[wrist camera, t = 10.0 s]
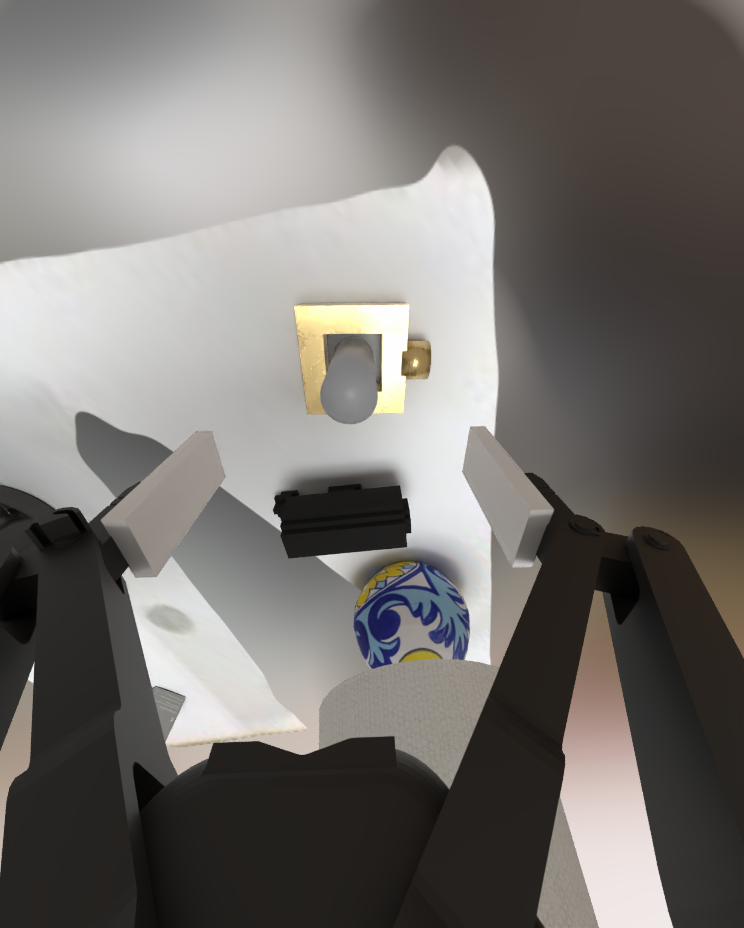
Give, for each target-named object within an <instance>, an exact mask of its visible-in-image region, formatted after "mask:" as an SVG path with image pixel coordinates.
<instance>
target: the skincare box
mask: <svg viewBox="0 0 744 928" xmlns="http://www.w3.org/2000/svg"><path fill="white" fill-rule="evenodd" d="M152 691H153V695H154V699H155V703H156V707H157V711H158V715H159V719H160V723H161V727H162V731H163V735H164V740H165V741H166V739H167V737H168V735H169V733H170V731H171V728H172V726H173V724H174V722H175V720H176V718H177V716H178V714H179V711H180V709H181V707H182V705H183V703H184V701H185V697H184V696H181V695H178V694H175V693H173V692H170V691H167V690H164V689H161V688H159V687H154V688H153V689H152Z"/></svg>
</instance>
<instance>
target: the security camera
mask: <svg viewBox="0 0 744 928" xmlns="http://www.w3.org/2000/svg"><path fill="white" fill-rule="evenodd" d="M274 500H275V506H274V509H273V512H274V514H278V517H280V518H281V521H282V523H281V526H280V527H281V530H282V532H281V538H282V541H283V544H284V547H285V550H286V552H287V555H288V558H297V557H307V556H319V555H329V554H340V553H350V552H361V551H371V550H382V549H392V548H403V547H407V540H406V533H411V518H410V510H409V505H408V500H407V498H404V499H402V495H401V489H400V486H390V487H381V488H371V489H361V485H360V484H354V485H344V486H334V487H329V489H328V493H321V494H312V495H302V496H299V494H298V490H295V491H285V492H282V493H281V495H276V496H275V498H274Z"/></svg>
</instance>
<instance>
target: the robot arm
mask: <svg viewBox="0 0 744 928" xmlns="http://www.w3.org/2000/svg"><path fill="white" fill-rule="evenodd" d="M462 472H463V474H464V476H465V478H466V480H467V482H468V484H469V486H470V488H471V490H472V491H473V493H474V495H475V497H476V499H477V501H478V503H479V505H480V507H481V509H482V511H483V513H484V515H485V517H486V518H487V520H488V522H489V524H490V526H491V528H492V530H493V532H494V534H495V536H496V538H497V540H498V542H499V544H500V545H501V547H502V549H503V551H504V553H505V555H506V557H507V559H508V561H509V563H510V565H511V567H532V566H533V563H534V561H535V558H536V555H537V557H538V558H539V560H540V561H541V563H542V566H541V568H540V571H539V573H538V575H537V578H536V580H535V583H534V585H533V588H532V590H531V593H530V595H529V597H528V600H527V602H526V605H525V607H524V609H523V612H522V614H521V617H520V619H519V622H518V624H517V627H516V629H515V631H514V634H513V636H512V639H511V641H510V644H509V646H508V648H507V651H506V653H505V656H504V658H503V661H502V663H501V666H500V668H499V670H498V673H497V675H496V678H495V680H494V683H493V685H492V687H491V690H490V692H489V695H488V697H487V700H486V702H485V704H484V707H483V709H482V712H481V714H480V717H479V719H478V721H477V724H476V726H475V729H474V731H473V734H472V736H471V738H470V741H469V743H468V746H467V748H466V751H465V753H464V756H463V758H462V760H461V763H460V765H459V768H458V770H457V773H456V775H455V777H454V780H453V782H452V785H451V787H450V789H449V788H448V787H447V785H446V784H445V783H444V782H443V781H442V780H441V779H440V777H439V776H438V775H437V774H436V773H435V772H434V771H433V770H432V769H430V768H429V767H428V766H427V765H426V764H425V763H423V762H422V761H420V760H419V759H417V758H416V757H414V756H412V755H410V754H408V753H406V752H404V751H401V750H398V749H395V736H384V737H357V738H349V739H346V740H343V741H341V742H338V743H335V744H333V745H330V746H327V747H325V748H322V749H319V750H317V751H314V752H312V753H309V754H306V755H299V754H295V753H292V752H289V751H286V750H283V749H280V748H277V747H274V746H271V745H268V744H265V743H262V742H259V741H253V742H227V743H213V746H212V749H211V753H210V756H209V759H206V760H204V761H202V762H200V763H198V764H196V765H194V766H192V767H190V768H189V769H187V770H186V771H184V772H183V773H181V774H180V775H177V773H176V771H175V768H174V767H173V764H172V762H171V760H170V758H169V755H168V752H167V748H166V744H165V740H164V735H163V731H162V727H161V723H160V719H159V715H158V711H157V707H156V703H155V699H154V695H153V691H152V687H151V683H150V679H149V675H148V671H147V667H146V663H145V659H144V654H143V650H142V646H141V642H140V638H139V634H138V630H137V626H136V622H135V618H134V614H133V610H132V606H131V602H130V598H129V594H128V590H127V586H126V582H125V580H124V579H123V577H122V574H123V573H124V571H125V570H126V569H127V568H128V566H129V568H130V570H131V571H132V573H133V575H134V576H135V578H137V577H157V576H158V574H159V573H160V571H161V570H162V568H163V567H164V565H165V564H166V563H167V561H168V560H169V558H170V557H171V555H172V554H173V552H174V551H175V549H176V548H177V547H178V545H179V544H180V542H181V541H182V539H183V538H184V536H185V535H186V533H187V532H188V531H189V529H190V528H191V526H192V525H193V523H194V522H195V520H196V519H197V517H198V516H199V514H200V513H201V512H202V510H203V509H204V507H205V506H206V504H207V503H208V501H209V500H210V498H211V497H212V496H213V494H214V493H215V491H216V490H217V488H218V487H219V486H220V484H221V483H222V481H223V480H224V478H225V473H224V470H223V467H222V464H221V460H220V457H219V454H218V450H217V447H216V444H215V440H214V437H213V434H212V431H196V432H195V433H194V434H193V435H192V436H191V437H190V438H189V439H188V440H186V441H185V442H184V443H183V444H182V445H181V446H180V447H179V448H178V449H177V450H176V451H175V452H173V453H172V454H171V455H170V456H169V457H168V458H167V459H166V460H165V461H164V462H163V463H162V464H161V465H159V466H158V467H157V468H156V469H155V470H154V471H153V472H152V473H151V474H150V475H149V476H148V477H146V478H145V479H144V480H143V481H142V482H138V483H137V484H135V485H133V486H131V487H129V488H128V489H126V490H125V491H124V492H123V493H122V494H121V495H120V496H119V497H118V499H115V500H114V501H113V502H112V503H111V504H110V506H107V507H106V508H105V509H104V510H103V511H102V512H101V513H99V514H98V515H97V516H96V517H95V518H94V519H93V520H92V521H90V522H89V523H88V522H87V521H86V519H85V518H84V516H83V514H82V513H81V511H80V510H79V509H78V508H74V507H67V508H61V509H57V510H53V509H52V508H51V507H49V506H48V505H46V504H45V503H43V502H42V501H40V500H38V499H36V498H34V497H32V496H30V495H28V494H26V493H23V492H21V491H18V490H15V489H12V488H8V487H3V486H0V750H1V748H2V745H3V742H4V739H5V737H6V734H7V732H8V729H9V727H10V724H11V721H12V719H13V716H14V713H15V711H16V708H17V706H18V703H19V700H20V698H21V695H22V692H23V690H24V687H25V685H26V682H27V680H28V677H29V674H30V672H31V669H32V667H33V664H34V688H33V710H32V732H31V756H30V764H29V768H28V769H27V771H25V772H24V773H22V774H21V775H19V776H17V777H16V778H15V779H14V781H13V782H12V784H11V786H10V788H9V792H8V797H7V802H6V814H5V825H4V838H3V849H2V861H1V872H0V928H545V927H544V925H543V924H542V922H541V921H540V919H539V918H538V917H537V911H538V905H539V900H540V895H541V890H542V885H543V880H544V874H545V869H546V864H547V859H548V854H549V849H550V843H551V838H552V833H553V828H554V823H555V818H556V812H557V807H558V802H559V797H560V791H561V787H562V781H563V775H564V768H565V755H564V753H563V751H562V743H563V737H564V732H565V728H566V723H567V718H568V713H569V708H570V704H571V699H572V694H573V689H574V685H575V680H576V675H577V670H578V666H579V660H580V656H581V651H582V646H583V642H584V637H585V632H586V628H587V622H588V618H589V613H590V608H591V604H592V599H593V594H594V590H598V591H602V592H603V597H604V602H605V607H606V612H607V617H608V622H609V627H610V632H611V637H612V642H613V647H614V652H615V657H616V662H617V666H618V672H619V677H620V682H621V687H622V691H623V697H624V701H625V706H626V711H627V716H628V721H629V726H630V731H631V736H632V741H633V746H634V751H635V756H636V761H637V766H638V771H639V776H640V780H641V786H642V791H643V796H644V800H645V806H646V811H647V816H648V821H649V826H650V830H651V835H652V841H653V846H654V851H655V855H656V861H657V866H658V870H659V874H660V879H661V883H662V887H663V891H664V895H665V899H666V903H667V907H668V912H669V915H670V918H671V921H672V925H673V928H744V658H743V656H742V654H741V652H740V651H739V649H738V647H737V645H736V643H735V641H734V639H733V638H732V636H731V634H730V632H729V630H728V628H727V626H726V624H725V623H724V621H723V619H722V617H721V615H720V613H719V611H718V610H717V608H716V606H715V604H714V602H713V600H712V598H711V597H710V595H709V593H708V591H707V589H706V587H705V585H704V584H703V582H702V580H701V578H700V576H699V574H698V573H697V570H696V569H695V567H694V565H693V563H692V561H691V559H690V558H689V555H688V554H687V552H686V550H685V548H684V547H683V545H682V544H681V543H680V542H679V541H678V540H677V539H675V538H674V537H672V536H671V535H669V534H668V533H665V532H664V531H661V530H658V529H654V528H650V527H643V526H642V527H636V528H634V529H633V530H632V532H631V533H630V535H629V537H628V536H623V535H618V534H612V533H607V532H605V530H604V529H603V528H602V527H601V525H599V524H598V523H597V522H595V521H594V520H591V519H589V518H587V517H585V516H581V515H575V514H574V513H573V512H572V511H571V510H570V509H569V508H568V507H567V506H566V504H565V503H564V502H563V501H562V500H561V499H560V498H559V497H558V496H557V495H555V492H554V491H553V490H552V489H550V487H549V485H548V484H547V483H546V482H545V481H544V480H543V479H542V478H540V477H538V476H537V475H535V474H533V473H523V472H522V470H521V469H520V468H519V467H518V465H517V464H516V463H515V462H514V461H513V459H512V458H511V457H510V456H509V455H508V453H507V452H506V451H505V450H504V449H503V448H502V446H501V445H500V444H499V443H498V441H497V440H496V439H495V438H494V437H493V435H492V434H491V433H490V432H489V431H488V429H487V428H486V427H485V426H478V427H470V431H469V436H468V442H467V448H466V454H465V459H464V465H463V471H462ZM34 661H35V663H34Z"/></svg>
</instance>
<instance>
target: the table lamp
mask: <svg viewBox="0 0 744 928" xmlns="http://www.w3.org/2000/svg"><path fill="white" fill-rule="evenodd" d="M354 630H355V634H356V638H357V642H358V646H359V649H360V651H361V653H362V655H363V658H364V660H365V662H366V663H367V665H368V667H369V668H370V669H371V670H369V671H365V672H362V673H360V674H358V675H356V676H354V677H352V678H350V679H347V680H345V681H344V682H342V683H341V684H340V685H338V686H337V687H335V688H334V689H332V690H331V692H330V693H329V694H328V695H327V696H326V697H325V698H324V699H323V702H322V704H321V706H320V710H319V712H320V713H319V715H320V716H319V749H322V748H325V747H327V746H330V745H333V744H335V743H338V742H341V741H343V740H346V739H349V738H357V737H384V736H395V749H398V750H401V751H404V752H406V753H408V754H410V755H412V756H414V757H416V758H417V759H419V760H420V761H422V762H423V763H425V764H426V765H427V766H428V767H429V768H430V769H432V770H433V771H434V772H435V773H436V774H437V775H438V776H439V777H440V779H441V780H442V781H443V782H444V783H445V784H446V785H447V787H448V788H449V789H450V787H451V785H452V782H453V780H454V777H455V775H456V773H457V770H458V768H459V765H460V763H461V760H462V758H463V756H464V753H465V751H466V748H467V746H468V743H469V741H470V738H471V736H472V734H473V731H474V729H475V726H476V724H477V721H478V719H479V717H480V714H481V712H482V709H483V707H484V704H485V702H486V700H487V697H488V695H489V692H490V690H491V687H492V685H493V683H494V680H495V678H496V675H497V673H498V670H499V668H498V667H495V666H491V665H487V664H484V663H480V662H473V661H466V660H464V659H465V657H466V654H467V649H468V642H469V635H470V620H469V612H468V609H467V606H466V603H465V601H464V598H463V596H462V594H461V592H460V591H459V589H458V588H457V587H456V586H455V585H454V584H453V583H452V582H451V581H450V580H449V579H448V578H447V577H446V576H445V575H444V574H442V573H441V572H439V571H438V570H436V569H435V568H433V567H431V566H430V565H427V564H424V563H421V562H414V561H406V562H398V563H394V564H391V565H388V566H386V567H384V568H382V569H381V570H379V571H378V572H377V573H376V574H375V575H374V576H373V577H372V578H371V579H370V581H369V582H368V583H367V584H366V586H365V587H364V588H363V590H362V592H361V594H360V596H359V598H358V600H357V603H356V605H355V614H354ZM537 917H538V918H539V919H540V921H541V922H542V924H543V925H544V927H545V928H599V927H598V923H597V920H596V916H595V913H594V910H593V906H592V903H591V900H590V896H589V893H588V889H587V886H586V883H585V880H584V876H583V873H582V869H581V866H580V863H579V859H578V856H577V853H576V849H575V846H574V842H573V839H572V836H571V832H570V829H569V826H568V823H567V819H566V815H565V812H564V809H563V806H562V802H561V799H560V797H559V802H558V807H557V812H556V818H555V823H554V828H553V833H552V838H551V843H550V849H549V854H548V859H547V864H546V869H545V874H544V880H543V885H542V890H541V895H540V900H539V905H538V911H537Z"/></svg>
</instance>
